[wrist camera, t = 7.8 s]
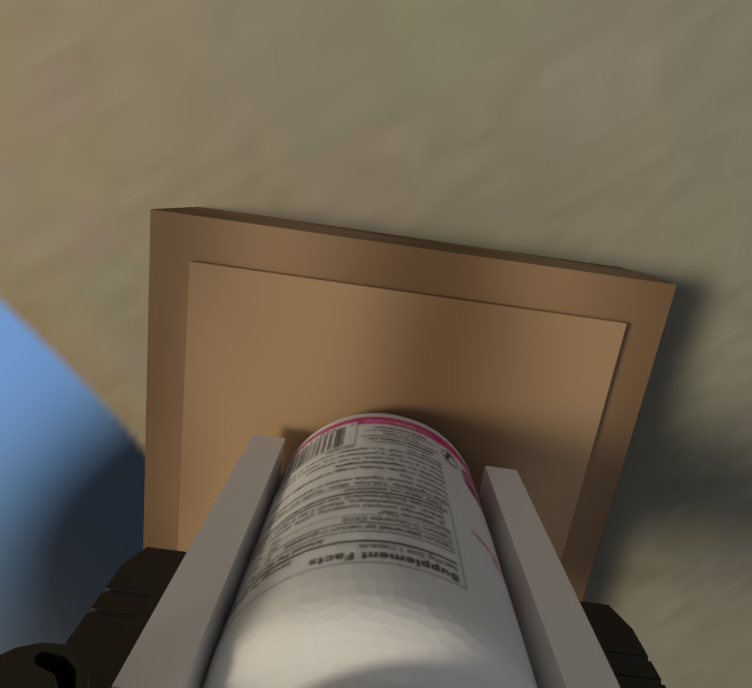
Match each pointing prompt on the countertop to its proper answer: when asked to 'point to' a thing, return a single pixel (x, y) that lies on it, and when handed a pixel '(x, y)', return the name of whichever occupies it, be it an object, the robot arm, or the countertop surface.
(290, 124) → the countertop surface
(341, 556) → the pill bottle
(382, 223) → the countertop surface
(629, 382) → the walnut stand
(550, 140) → the countertop surface
